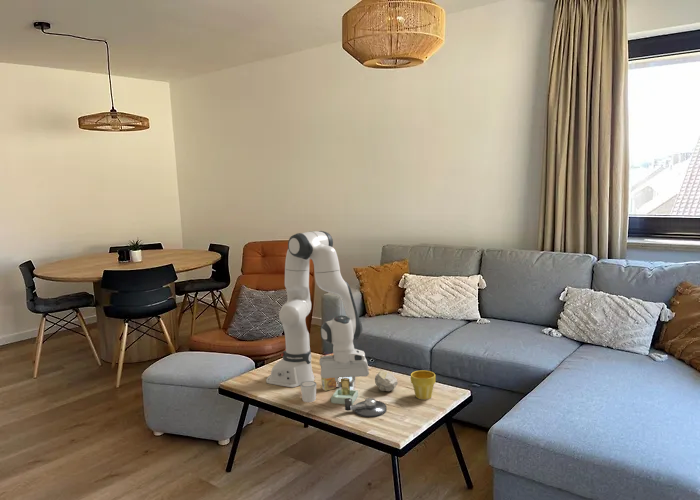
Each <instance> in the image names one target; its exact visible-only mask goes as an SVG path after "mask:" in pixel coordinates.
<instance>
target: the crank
mask: <svg viewBox="0 0 700 500" xmlns="http://www.w3.org/2000/svg"><path fill="white" fill-rule="evenodd" d="M364 401H365V404H357V403H356V404H357V405H356V404H353V405H351V399H350V398H346V399H345V404H344V410H345V411H348V412H349V411H354V410H356V409H364V408H366V409H374V408H376V401H377V400H376V399H375V398H373V397H372V398H371V397H369V398H366V399H365V400H364Z"/></svg>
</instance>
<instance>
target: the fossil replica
mask: <svg viewBox="0 0 700 500" xmlns="http://www.w3.org/2000/svg"><path fill="white" fill-rule="evenodd" d="M374 383H375V386H377V387H378V389H379V391H381V392H391V391H393V390H394V389H395V388H396V387H397V385H398V378H396V377H395V375H394V374H393V373H391V372H389V371H387V370H382V369H381V370H380V371H379V372H378V373H376V375H375V378H374Z"/></svg>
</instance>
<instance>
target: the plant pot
mask: <svg viewBox="0 0 700 500" xmlns="http://www.w3.org/2000/svg"><path fill="white" fill-rule="evenodd" d="M436 378H437V377H436V374H435V372H433V371H430V370H423V369H422V370H416V371H415V370H414V371H412V373H410V383H411V384H412V388H413V391H414V395H415V398H416V399H419V400H423V401H424V400H429V399H431V398H432V395H433V391H434V390H433V389H434V385H435V384H436Z"/></svg>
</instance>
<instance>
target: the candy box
mask: <svg viewBox="0 0 700 500" xmlns="http://www.w3.org/2000/svg"><path fill="white" fill-rule="evenodd" d="M331 355H333V352H332V353H328V354H323V355H320V358H321V357H323V356H331ZM320 358H319V359H320ZM320 377H321V376H320ZM321 389H323V391H325V392H328V391H330V390H334V389H335V390H337V388H336V381H335V378H322V377H321Z"/></svg>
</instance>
